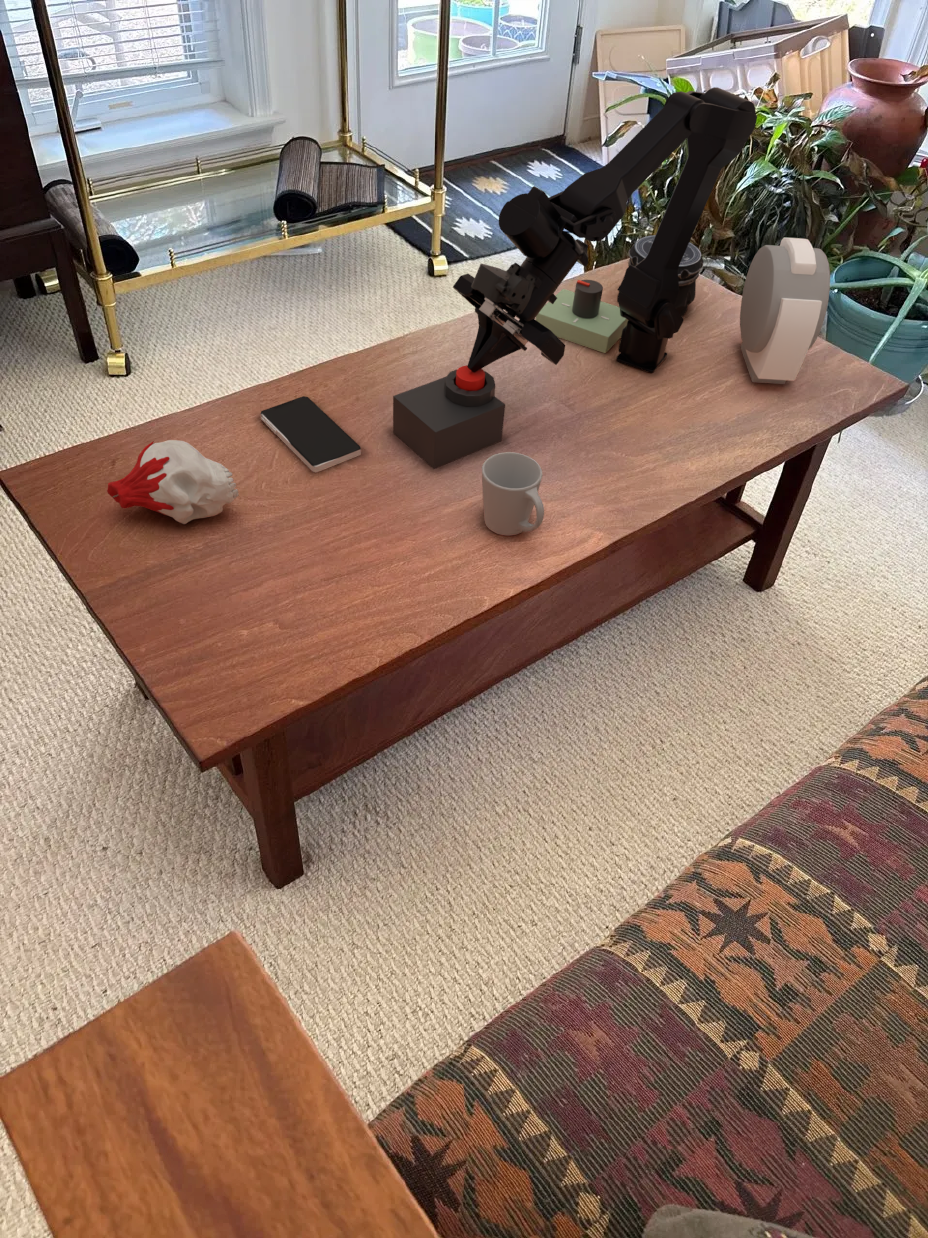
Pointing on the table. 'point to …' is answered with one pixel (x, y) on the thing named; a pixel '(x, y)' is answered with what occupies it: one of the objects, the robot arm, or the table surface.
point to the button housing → (448, 419)
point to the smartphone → (310, 433)
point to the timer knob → (587, 298)
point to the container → (686, 269)
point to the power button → (470, 379)
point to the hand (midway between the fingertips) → (470, 369)
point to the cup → (511, 493)
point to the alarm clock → (783, 308)
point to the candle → (175, 482)
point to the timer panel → (583, 323)
